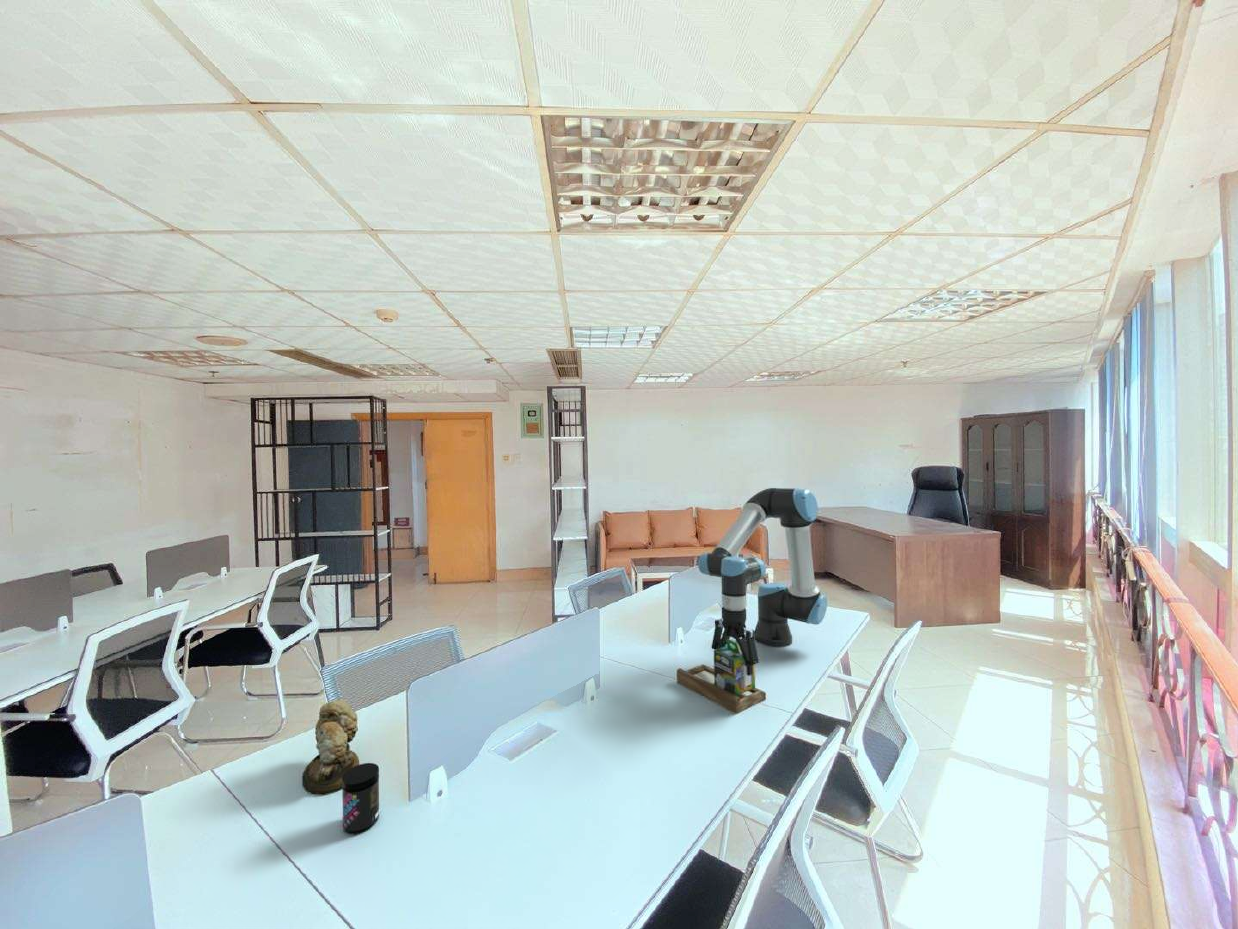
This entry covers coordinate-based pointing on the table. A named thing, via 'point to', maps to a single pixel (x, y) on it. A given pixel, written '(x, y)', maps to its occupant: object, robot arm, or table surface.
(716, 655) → the chalk box
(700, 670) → the brown wooden tray
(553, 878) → the table surface
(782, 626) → the robot arm
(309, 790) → the tan statuette
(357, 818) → the supplement container
